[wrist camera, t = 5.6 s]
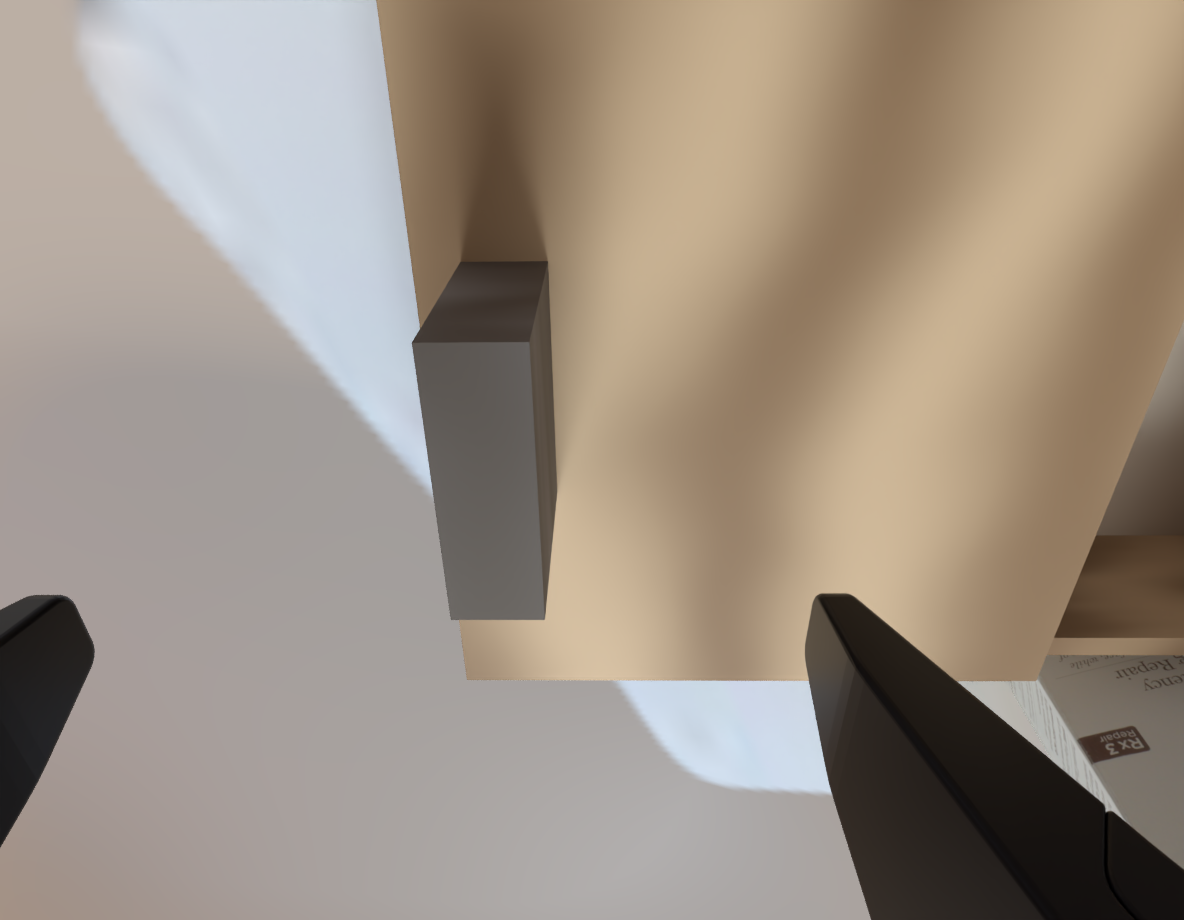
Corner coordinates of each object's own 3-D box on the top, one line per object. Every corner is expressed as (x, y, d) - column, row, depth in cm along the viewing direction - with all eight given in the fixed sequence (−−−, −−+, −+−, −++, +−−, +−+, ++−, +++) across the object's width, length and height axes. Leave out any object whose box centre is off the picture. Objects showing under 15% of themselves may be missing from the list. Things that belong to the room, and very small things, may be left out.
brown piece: (1502, -87, 15) (1853, -131, 11) (1193, 539, 23) (1326, 655, 19) (821, -78, 16) (905, -116, 11) (748, 539, 24) (780, 654, 19)
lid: (1339, -141, 11) (1757, -234, 7) (1024, 663, 19) (1133, 829, 15) (369, -127, 11) (241, -209, 7) (470, 662, 20) (436, 825, 16)
